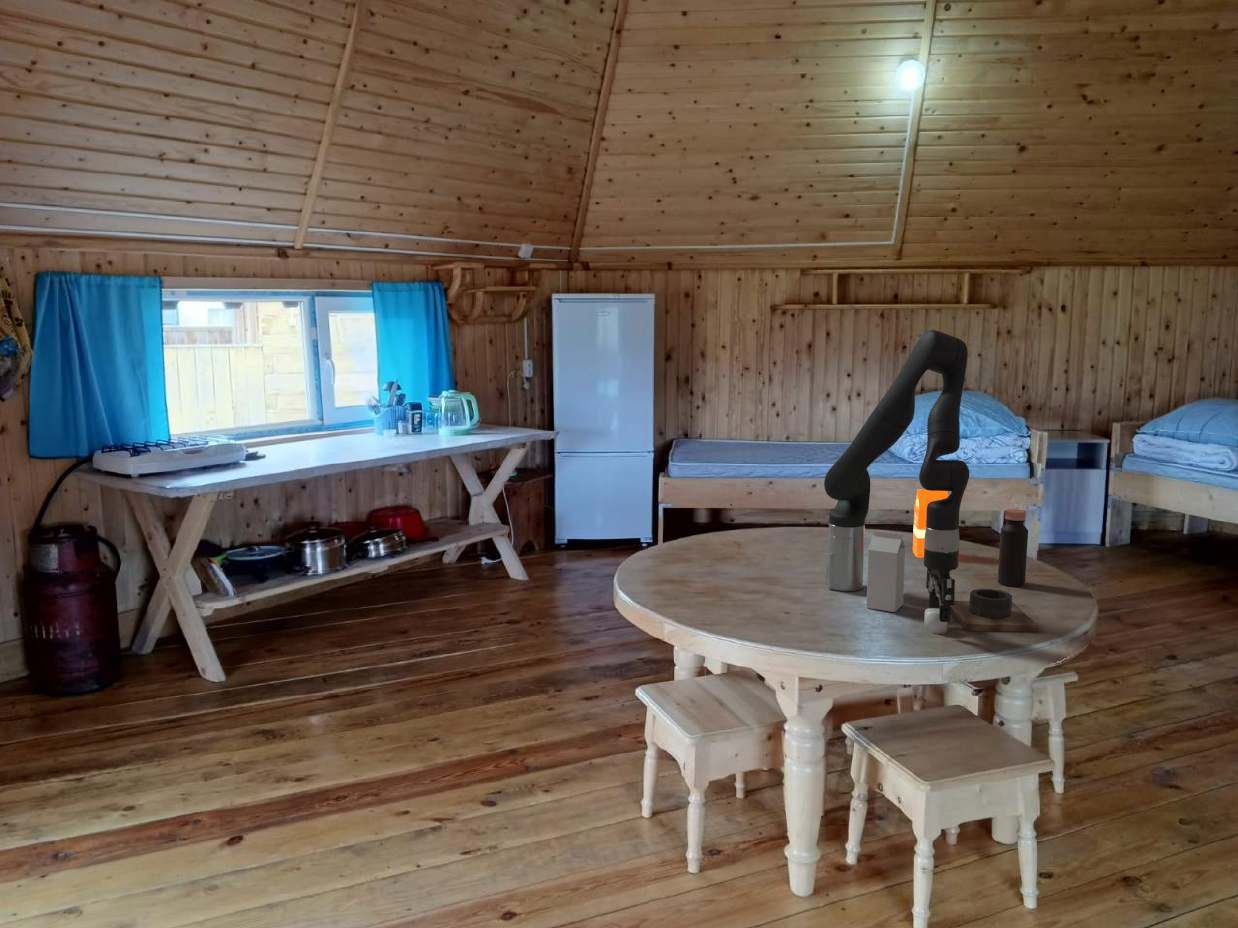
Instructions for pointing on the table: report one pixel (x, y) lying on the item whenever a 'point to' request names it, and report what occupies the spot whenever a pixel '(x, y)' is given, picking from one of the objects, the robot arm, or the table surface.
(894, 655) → the table surface
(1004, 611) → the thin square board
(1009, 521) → the bottle
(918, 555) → the orange juice
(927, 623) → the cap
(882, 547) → the milk carton
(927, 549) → the robot arm
